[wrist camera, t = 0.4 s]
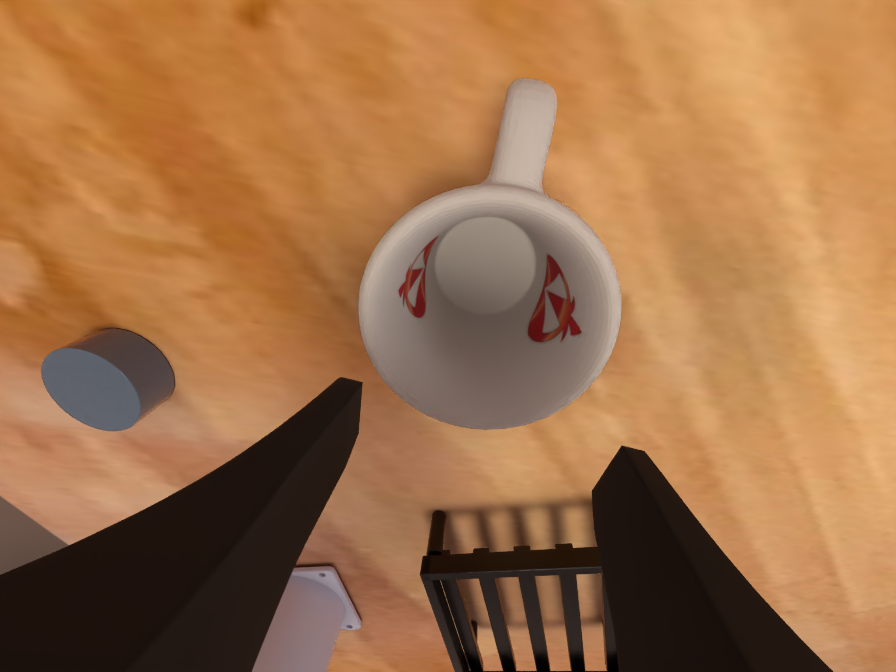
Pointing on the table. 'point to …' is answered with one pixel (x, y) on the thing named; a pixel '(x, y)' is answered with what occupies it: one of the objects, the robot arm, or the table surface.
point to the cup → (493, 289)
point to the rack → (487, 570)
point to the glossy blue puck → (108, 379)
